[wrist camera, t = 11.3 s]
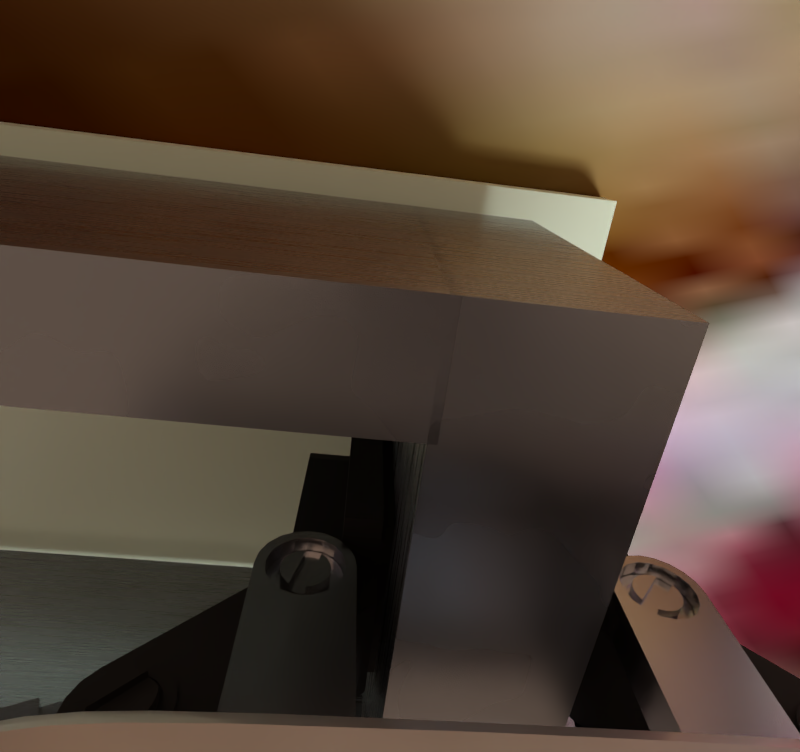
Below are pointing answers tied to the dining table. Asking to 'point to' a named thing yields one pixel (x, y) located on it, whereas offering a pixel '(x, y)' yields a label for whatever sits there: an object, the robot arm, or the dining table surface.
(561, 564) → the c link
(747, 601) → the dining table surface
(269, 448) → the board
